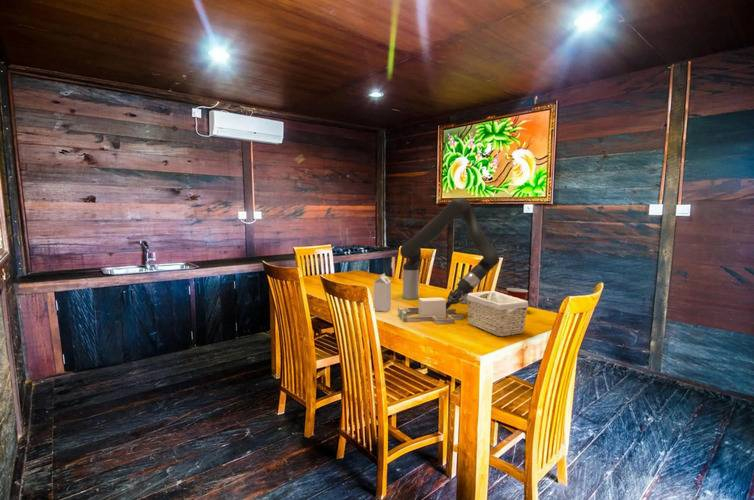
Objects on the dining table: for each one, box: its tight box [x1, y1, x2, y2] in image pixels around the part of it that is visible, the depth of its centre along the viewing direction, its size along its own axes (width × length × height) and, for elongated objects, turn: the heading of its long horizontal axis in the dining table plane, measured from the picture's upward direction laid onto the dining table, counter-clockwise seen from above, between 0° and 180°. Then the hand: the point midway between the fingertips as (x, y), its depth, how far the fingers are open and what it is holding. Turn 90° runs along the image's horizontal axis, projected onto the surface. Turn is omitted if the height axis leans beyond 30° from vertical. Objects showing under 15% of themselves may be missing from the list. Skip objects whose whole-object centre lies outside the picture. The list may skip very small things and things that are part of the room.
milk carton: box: [373, 272, 392, 313], centre depth 204 cm, size 7×7×19 cm
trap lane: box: [397, 306, 465, 325], centre depth 192 cm, size 23×30×4 cm
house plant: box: [455, 275, 472, 304], centre depth 221 cm, size 14×14×16 cm
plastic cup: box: [506, 287, 529, 300], centre depth 203 cm, size 11×11×12 cm
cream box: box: [417, 297, 447, 319], centre depth 192 cm, size 6×12×9 cm, turn 101°
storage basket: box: [467, 290, 529, 337], centre depth 175 cm, size 24×16×15 cm
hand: (444, 308), depth 193 cm, fingers closed
